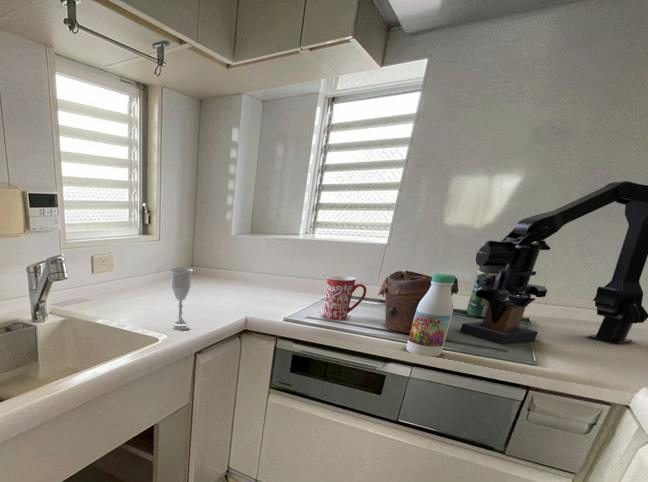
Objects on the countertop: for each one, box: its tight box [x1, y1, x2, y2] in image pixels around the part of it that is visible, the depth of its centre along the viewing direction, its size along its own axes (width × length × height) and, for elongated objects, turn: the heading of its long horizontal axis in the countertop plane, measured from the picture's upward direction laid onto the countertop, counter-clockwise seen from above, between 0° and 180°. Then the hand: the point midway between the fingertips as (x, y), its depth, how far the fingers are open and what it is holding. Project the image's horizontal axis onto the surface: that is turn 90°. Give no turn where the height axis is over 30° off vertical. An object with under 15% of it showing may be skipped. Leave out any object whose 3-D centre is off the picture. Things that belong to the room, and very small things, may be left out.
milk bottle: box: [406, 273, 456, 358], centre depth 101 cm, size 8×8×20 cm
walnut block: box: [482, 303, 527, 332], centre depth 116 cm, size 5×6×8 cm
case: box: [377, 269, 459, 335], centre depth 122 cm, size 18×20×18 cm
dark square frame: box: [459, 321, 539, 344], centre depth 118 cm, size 12×12×2 cm
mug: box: [323, 275, 367, 321], centre depth 135 cm, size 13×9×14 cm
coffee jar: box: [466, 265, 507, 319], centre depth 136 cm, size 10×8×19 cm
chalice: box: [169, 267, 194, 331], centre depth 124 cm, size 7×7×18 cm
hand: (501, 321), depth 117 cm, fingers closed on walnut block, 5 cm apart
